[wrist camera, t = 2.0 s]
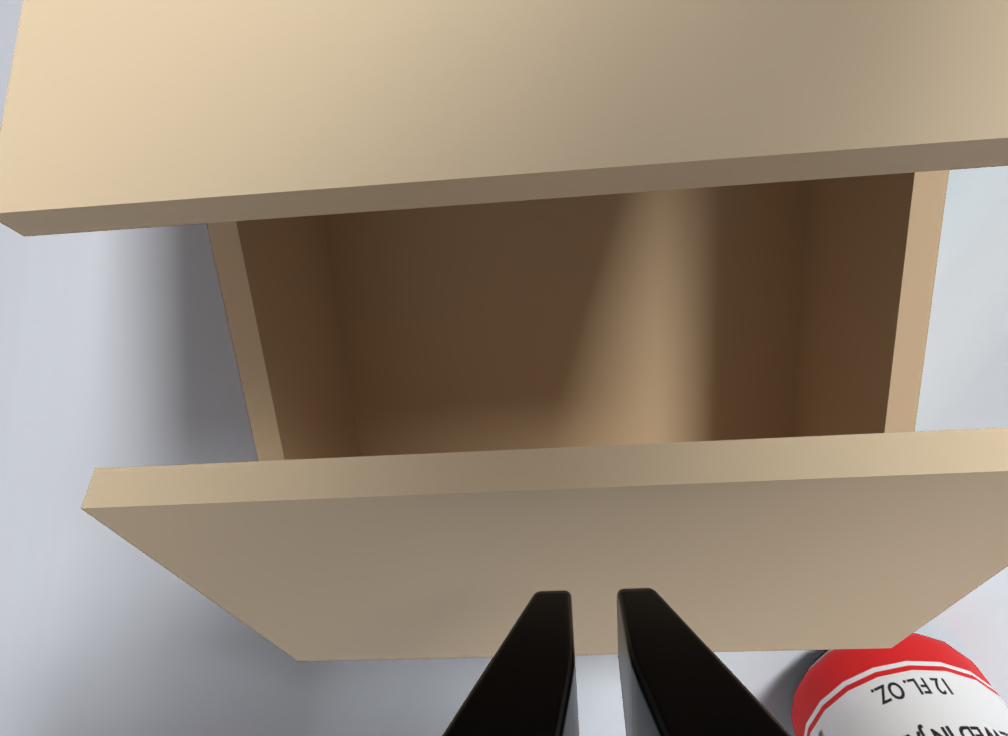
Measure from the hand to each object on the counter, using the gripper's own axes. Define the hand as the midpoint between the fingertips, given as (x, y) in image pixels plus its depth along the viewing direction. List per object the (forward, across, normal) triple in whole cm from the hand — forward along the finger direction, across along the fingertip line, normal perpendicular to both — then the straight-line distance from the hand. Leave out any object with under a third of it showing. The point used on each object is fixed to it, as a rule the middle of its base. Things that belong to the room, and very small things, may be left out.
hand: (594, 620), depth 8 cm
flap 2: (+4, 0, +2) cm, 5 cm away
